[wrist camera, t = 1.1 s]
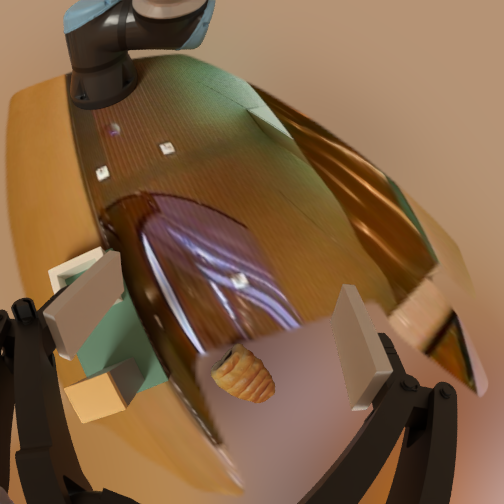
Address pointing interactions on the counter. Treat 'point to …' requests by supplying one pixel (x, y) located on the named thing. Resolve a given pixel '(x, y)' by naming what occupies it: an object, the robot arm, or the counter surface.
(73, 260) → the header
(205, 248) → the counter surface
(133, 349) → the board
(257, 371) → the pastry
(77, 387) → the plug
